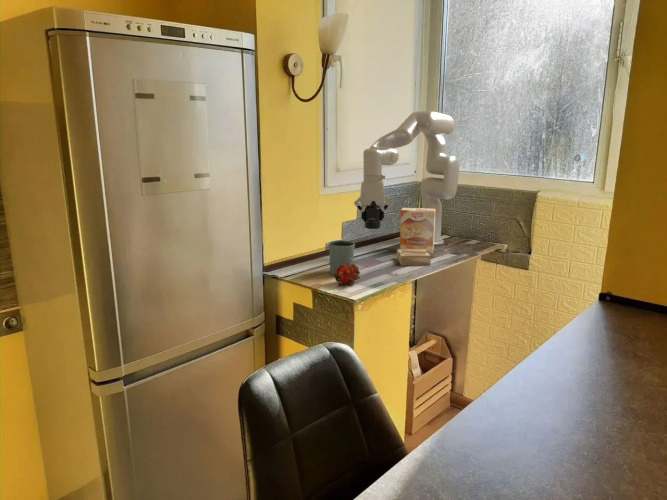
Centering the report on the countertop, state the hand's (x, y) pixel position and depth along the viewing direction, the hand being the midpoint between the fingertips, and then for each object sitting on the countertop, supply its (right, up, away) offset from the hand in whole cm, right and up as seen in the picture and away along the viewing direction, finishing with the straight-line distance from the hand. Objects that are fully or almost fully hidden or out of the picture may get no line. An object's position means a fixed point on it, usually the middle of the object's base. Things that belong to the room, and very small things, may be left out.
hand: (372, 220), depth 223 cm
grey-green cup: (-14, -22, -18) cm, 31 cm away
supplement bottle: (0, -3, +1) cm, 4 cm away
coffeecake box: (+21, -13, +15) cm, 29 cm away
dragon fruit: (-12, -25, -33) cm, 43 cm away
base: (+17, -18, -3) cm, 25 cm away
